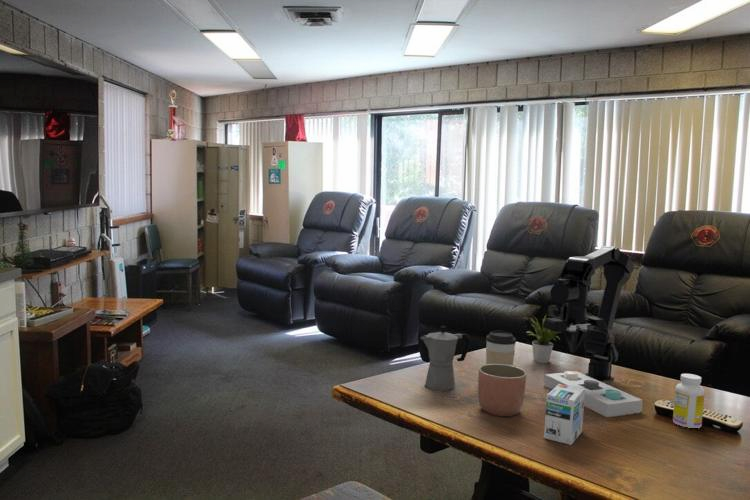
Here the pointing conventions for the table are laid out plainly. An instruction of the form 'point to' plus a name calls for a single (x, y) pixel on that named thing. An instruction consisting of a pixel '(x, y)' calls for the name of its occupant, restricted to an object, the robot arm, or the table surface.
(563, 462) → the table surface
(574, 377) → the key ivory
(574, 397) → the light bulb box
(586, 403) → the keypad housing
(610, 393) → the key teal
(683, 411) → the supplement bottle
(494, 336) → the coffee cup
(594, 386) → the key charcoal
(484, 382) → the planter
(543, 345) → the house plant
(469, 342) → the coffeepot
